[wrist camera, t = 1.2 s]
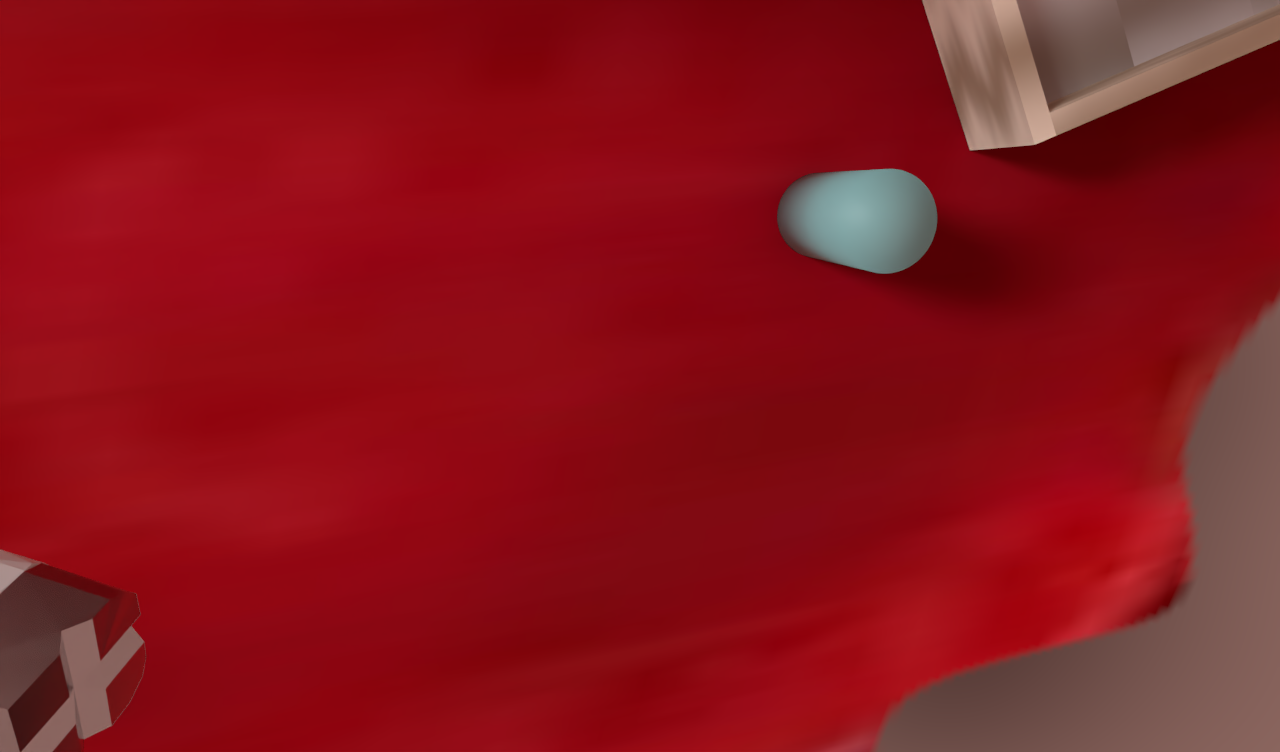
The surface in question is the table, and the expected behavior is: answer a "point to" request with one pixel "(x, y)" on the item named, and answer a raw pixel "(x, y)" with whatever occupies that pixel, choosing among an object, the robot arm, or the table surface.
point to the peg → (859, 218)
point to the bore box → (1080, 57)
